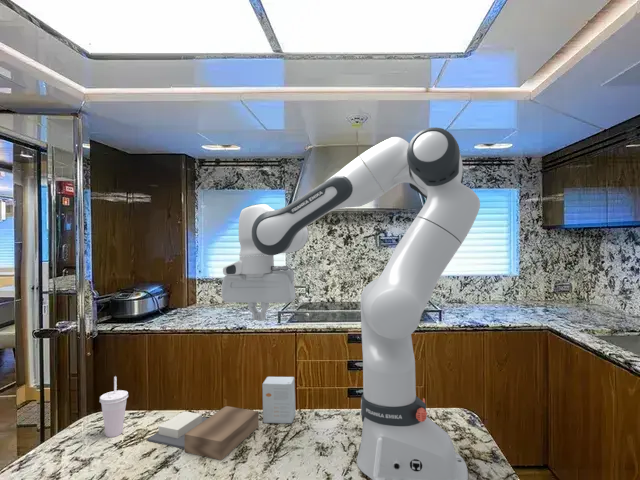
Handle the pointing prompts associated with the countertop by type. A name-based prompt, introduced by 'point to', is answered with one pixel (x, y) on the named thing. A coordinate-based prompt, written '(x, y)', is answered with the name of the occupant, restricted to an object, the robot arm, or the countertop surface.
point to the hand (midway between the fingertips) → (259, 319)
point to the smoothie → (114, 410)
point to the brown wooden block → (221, 432)
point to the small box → (278, 399)
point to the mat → (171, 439)
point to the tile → (180, 424)
